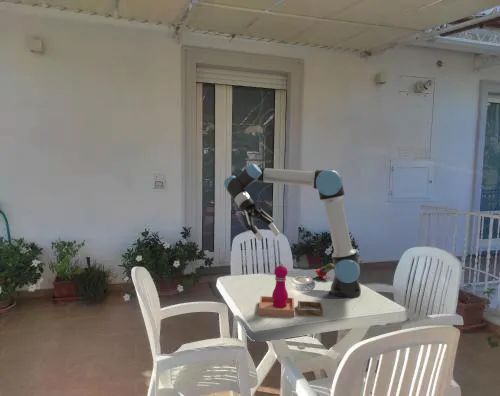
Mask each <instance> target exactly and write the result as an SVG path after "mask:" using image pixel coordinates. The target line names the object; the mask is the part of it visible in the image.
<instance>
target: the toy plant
mask: <svg viewBox="0 0 500 396" xmlns="http://www.w3.org/2000/svg"><path fill="white" fill-rule="evenodd" d="M317 268H319V266H318V267H317ZM332 270H334V263H331V262H330V263H328V264H326V265H325V266H322V267H321V268H319V269H316V270H315V273H316V276H318V277H320V279H321V280H323V279H324V278H323V277H325V278H328V279H330V276H329V277H328V276H327V274H328V273H329V272H330V271H332Z"/></svg>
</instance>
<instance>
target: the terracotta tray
mask: <svg viewBox="0 0 500 396" xmlns="http://www.w3.org/2000/svg"><path fill="white" fill-rule="evenodd" d="M273 301H274V299H273V298H272V296H270V295H269V296H268V295H266V296H265V295H260V299H259V303H258V312H257V315H258V316H268V317H269V316H270V317H284V318H285V317H286V318H287V317H288V318H295V297H288V299H287V300H286V302H287V306H286V307H284V308H278V307H275V306H273Z"/></svg>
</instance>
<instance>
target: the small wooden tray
mask: <svg viewBox="0 0 500 396" xmlns="http://www.w3.org/2000/svg"><path fill="white" fill-rule="evenodd" d="M307 308H310V309H307ZM311 308H315V309H311ZM297 311H298V314H297V315H298V316H307V317H308V316H310V317H311V316H312V317H324V308H323V305H322V301H308V300H297Z"/></svg>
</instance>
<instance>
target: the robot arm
mask: <svg viewBox="0 0 500 396" xmlns="http://www.w3.org/2000/svg"><path fill="white" fill-rule="evenodd" d="M255 182H259V183H269V184H270V183H271V184H281V185H290V186H291V185H293V186H304V187H311V188H312V189H313V190H314V189H315V190H317V191H318V192H317V193H318V195H319V200H320V201H321V202H322V203H324V208H325V214H326V218H327V222H328V223H327V224H328V227H329V228H328V229H329V234H330V239H331V242H332V247H333V252H332V254H331V259H332V264H334V267H333V272H334V278H333V281H332V282H331V285H330V292H331V294H333V295H334V296H339V297H343V298H357V297H359V296H361V292H362V289H361V285H360V282H359V278H360V273H361V267H360V251H359V250H358V249H356V248H353V246H352V240H351V236H350V232H349V226H348V221H347V217H346V212H345V207H344V202H343V198H344V197H345V191H344V185H343V179H342V176H341V174H340V173H339V172H338V171H337V170H335V169H333V168H330V169H314V170H313V171H307V170H297V169H296V170H295V169H283V168H271V167H270V168H269V167H259V166H258V165H257V164H256V163H254V162H251V163H250V164H249V165H246V167H245V168H244V169H243V170H242V171H241V172H240V173H239V174H238V175H236V176H235V175H230V176H229V177H227V178H226V179H225V180H224V181H223V185H224V188H225V190H227V191H226V192H228V194H229V195H230V196H231V198H232V199H233V200H234V202H235V203H236V205H237V207H239V210H241V213H240V214H241V217H242V219H243V223H244V227H245V228H246V230H248V231H250V230H251V232H252V233H253V235H254V237H256V239H257V240H258V241H261V240H262V239H263V237H264V236H263V234H262V233H261V231H260V230H259V228H258V227H257V226H256V225H254V224H255V221H254V219H258V220H260V221H262V222H263V223H265V224H267V226H268V227H269V229H270V230H271V232H272V233H273V235H274V236H276V237H277V236H278V235H279V234H280V231H279V230H278V228H277V226H276V225H275V223H274V221H275V219H274V218H273V217H271V215H269V214H268V213H267V212H266V211H265V210H264V209H262V208H261V207H259V208H257V207H256V205H257V204H256V202H255V201H254V200H253V199H252V197H251V196H250V195H249V193H248V192H247V190H246V188H248V187H249V186H250V185H251V184H253V183H255Z"/></svg>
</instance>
